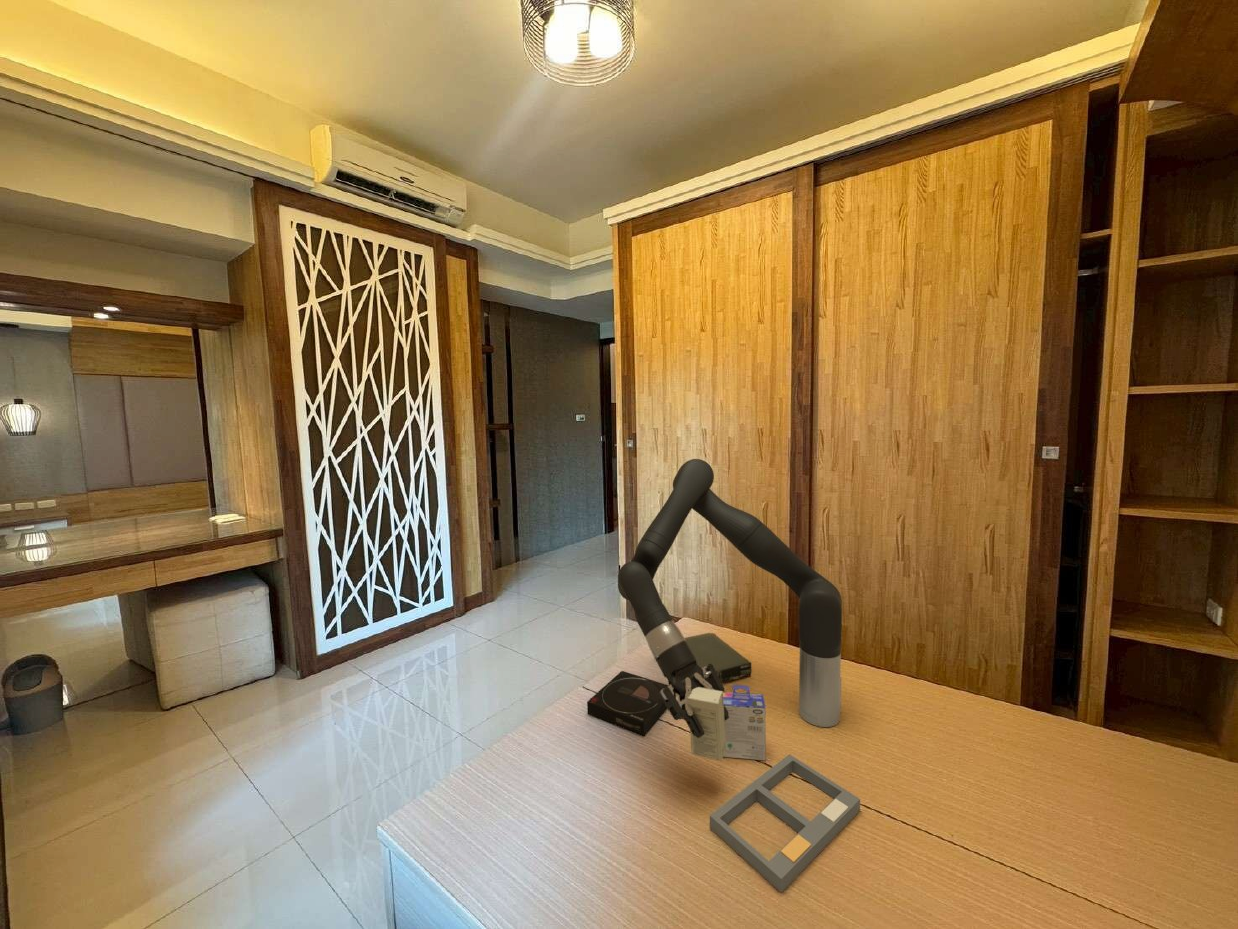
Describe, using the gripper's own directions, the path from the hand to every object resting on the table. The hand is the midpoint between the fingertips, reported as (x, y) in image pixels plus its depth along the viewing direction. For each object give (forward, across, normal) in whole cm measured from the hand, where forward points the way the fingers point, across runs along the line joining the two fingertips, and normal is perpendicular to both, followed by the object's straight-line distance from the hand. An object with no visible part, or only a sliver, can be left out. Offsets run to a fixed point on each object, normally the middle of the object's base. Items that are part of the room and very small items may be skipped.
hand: (713, 727), depth 93 cm
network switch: (-13, -31, -35) cm, 49 cm away
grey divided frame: (+19, -5, -1) cm, 19 cm away
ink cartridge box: (+7, -13, -13) cm, 20 cm away
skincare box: (+3, 0, -6) cm, 6 cm away
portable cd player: (-12, -4, -33) cm, 36 cm away
